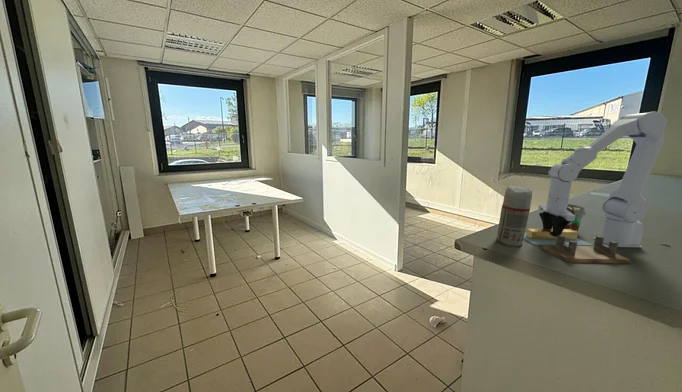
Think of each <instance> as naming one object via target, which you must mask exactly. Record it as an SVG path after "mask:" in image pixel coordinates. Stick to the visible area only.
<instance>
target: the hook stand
mask: <svg viewBox="0 0 682 392" xmlns="http://www.w3.org/2000/svg"><path fill="white" fill-rule="evenodd" d="M595 237H596V238H595V239H594V244H593V246H577V242H576V241H569V245H568V244H566V243H564V241H565V236H559V235H558V237H557V242H556V245H542V249H543V250H545V251H547V252H548V253H550V254H552V255H553V256H555V257H558V259H561V260H562V261H565V262H566V263H582V264H583V263H590V264H591V263H593V264H596V263H597V264H630V262H631V259H630V258H627V257H625V256H622V255H620V254H618V253H617V251H618V248H619V247H618V243H617V242H610V243H609V245H608V244H606V243H603V240H604V237H602V235H595Z"/></svg>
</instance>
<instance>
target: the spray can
mask: <svg viewBox="0 0 682 392" xmlns="http://www.w3.org/2000/svg"><path fill="white" fill-rule="evenodd" d="M503 196H504V197H503V203H502V205H501V210H500V216H499V222H498V227H497V235H496V236H497V237H496V239H495V240H496V241H497V242H498V243H501V244H503V245H506V246H510V247H522V246H523V242H524V235H525V232H527V224H528V221H529V217H530V216H529V215H530V210H531V205H532V199H533V189H531V188H528V187H526V186H523V185H508V186H507V187H506V189H505V192H504V195H503Z"/></svg>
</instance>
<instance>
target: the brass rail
mask: <svg viewBox="0 0 682 392" xmlns="http://www.w3.org/2000/svg"><path fill="white" fill-rule="evenodd" d="M552 230H553V228H552V229H543V228H526V232H527V233H526V237H528V238H530V239H545V240H557V237H554V236H552ZM578 235H579V231H578V232H577V231H574V230H572V229H564V230H563V231H562V233H561V235H560V236H565V240H577V238H578Z"/></svg>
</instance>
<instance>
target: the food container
mask: <svg viewBox="0 0 682 392" xmlns="http://www.w3.org/2000/svg"><path fill="white" fill-rule="evenodd" d="M566 211H568V212H569V213H571V214H573V215H575V221H571V222H570V223H569V224H568V225H567V226H566V227H565V228H564V229H572V230H574V231H577V232H578V233H579V229H580V225H581V224H582V219H583V217H584V216H586V214H587V212H586V211H587V210H586V208H585V207H584V206H580V205H578V204H577V205H576V204H571V203H568V205H567V210H566ZM557 217H558V216H557Z"/></svg>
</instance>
